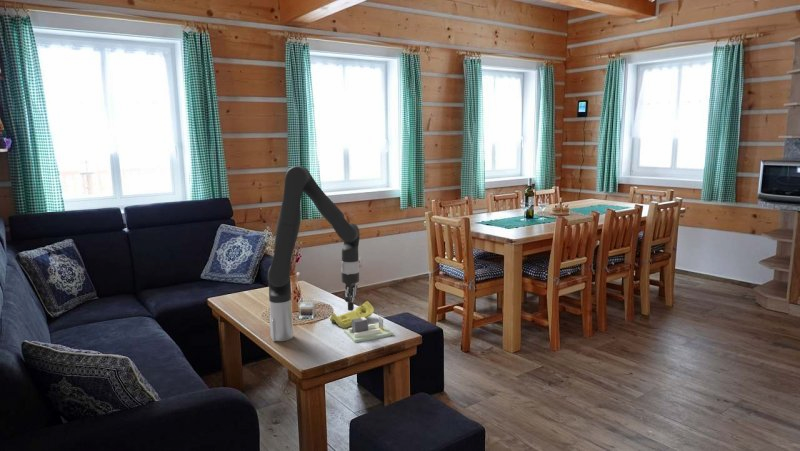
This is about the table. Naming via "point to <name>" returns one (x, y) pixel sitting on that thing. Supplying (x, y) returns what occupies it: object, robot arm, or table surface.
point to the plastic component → (353, 315)
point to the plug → (359, 325)
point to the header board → (370, 332)
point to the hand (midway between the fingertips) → (350, 310)
